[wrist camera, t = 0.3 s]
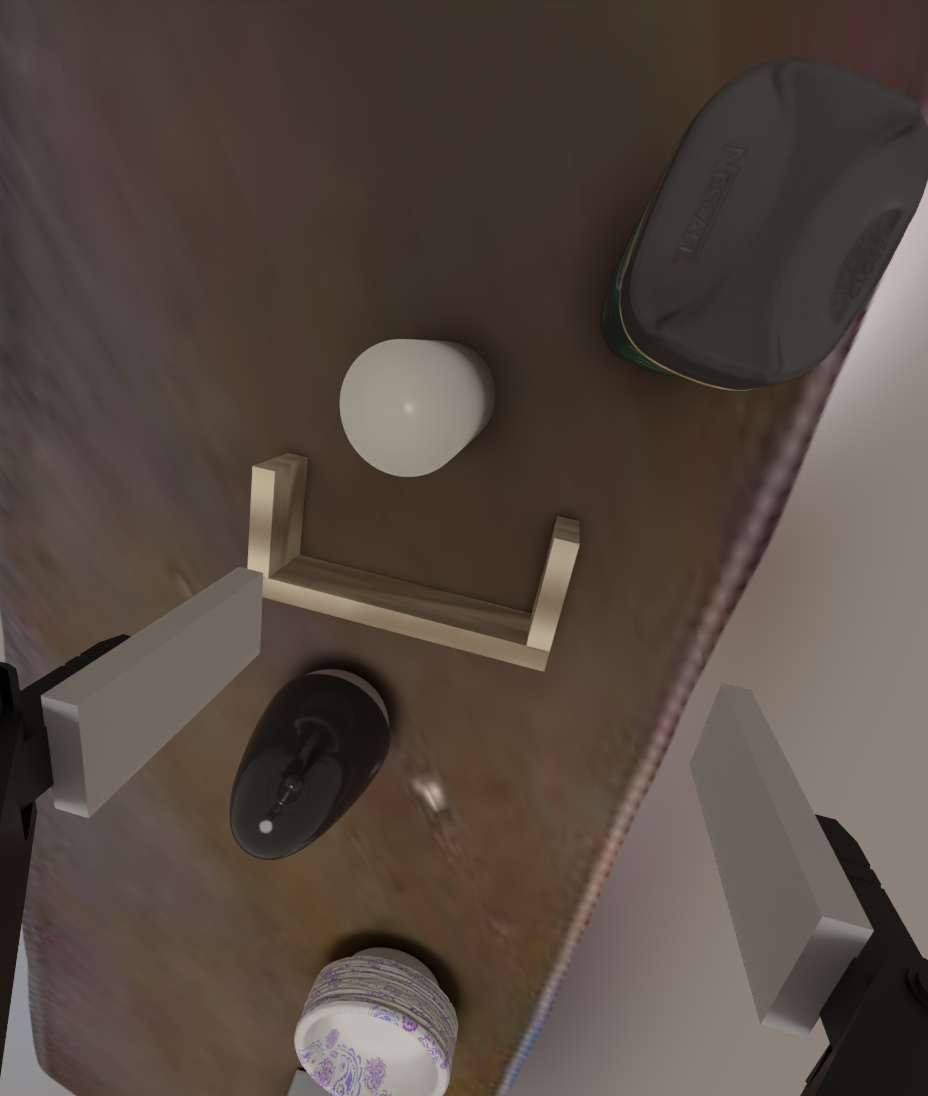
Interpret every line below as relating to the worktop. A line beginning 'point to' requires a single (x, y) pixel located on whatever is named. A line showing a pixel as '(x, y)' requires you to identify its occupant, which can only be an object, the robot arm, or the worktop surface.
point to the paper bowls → (377, 1027)
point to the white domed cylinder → (415, 404)
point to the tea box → (306, 1086)
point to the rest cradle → (397, 581)
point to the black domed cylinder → (307, 762)
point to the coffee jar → (769, 226)
